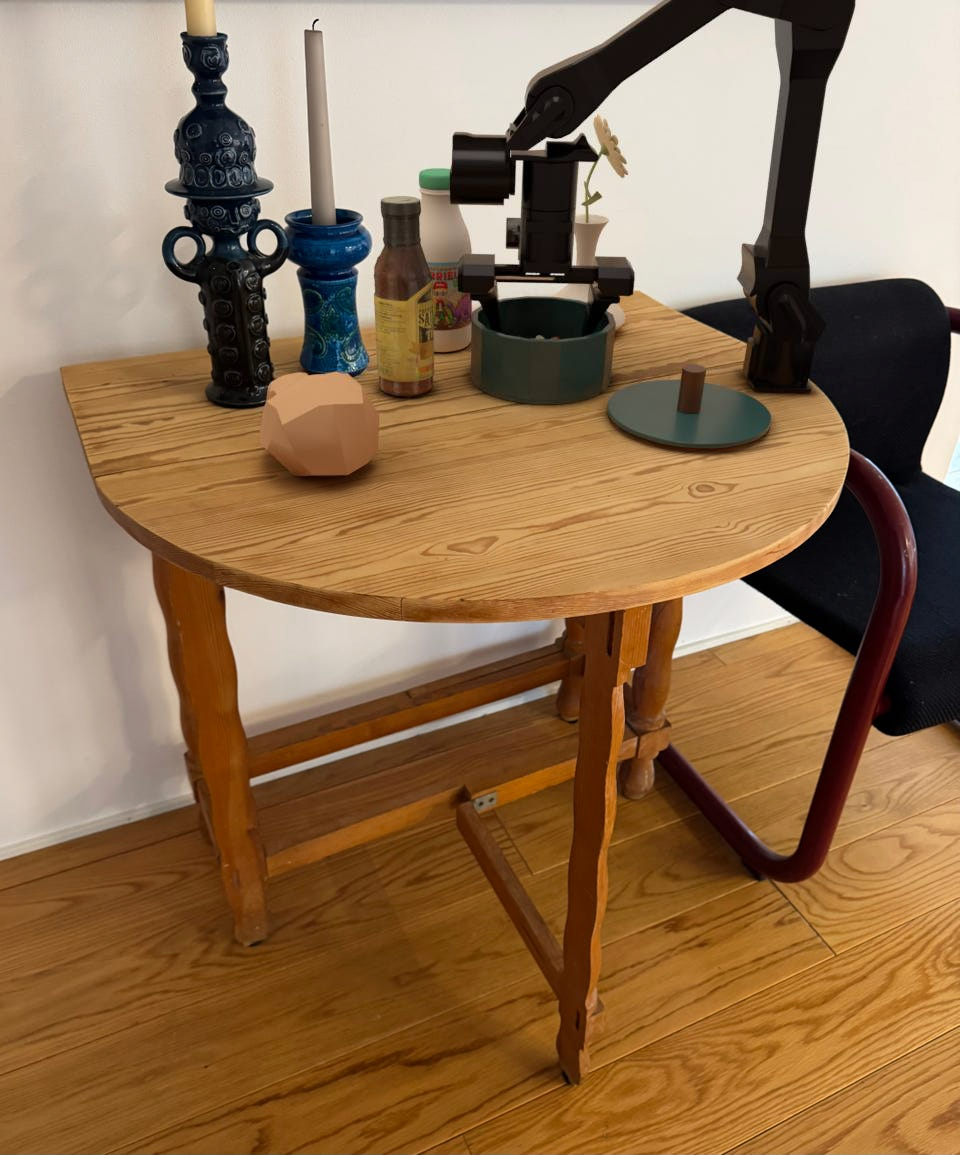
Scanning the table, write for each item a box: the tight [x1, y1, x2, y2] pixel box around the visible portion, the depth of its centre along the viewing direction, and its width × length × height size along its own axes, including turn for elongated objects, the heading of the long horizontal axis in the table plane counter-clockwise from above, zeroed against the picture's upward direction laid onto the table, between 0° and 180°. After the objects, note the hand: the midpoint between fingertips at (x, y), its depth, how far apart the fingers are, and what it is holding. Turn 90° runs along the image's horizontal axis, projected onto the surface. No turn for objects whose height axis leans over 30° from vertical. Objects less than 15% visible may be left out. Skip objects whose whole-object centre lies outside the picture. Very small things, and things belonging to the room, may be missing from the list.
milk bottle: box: [418, 167, 473, 353], centre depth 112 cm, size 8×8×20 cm
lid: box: [606, 363, 772, 449], centre depth 98 cm, size 17×17×6 cm
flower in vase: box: [551, 113, 629, 332], centre depth 117 cm, size 13×11×25 cm
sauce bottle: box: [373, 195, 435, 397], centre depth 100 cm, size 6×6×20 cm
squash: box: [257, 371, 380, 477], centre depth 90 cm, size 11×20×9 cm, turn 24°
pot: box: [470, 295, 616, 405], centre depth 107 cm, size 16×16×7 cm
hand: (541, 351), depth 107 cm, fingers open, 9 cm apart
